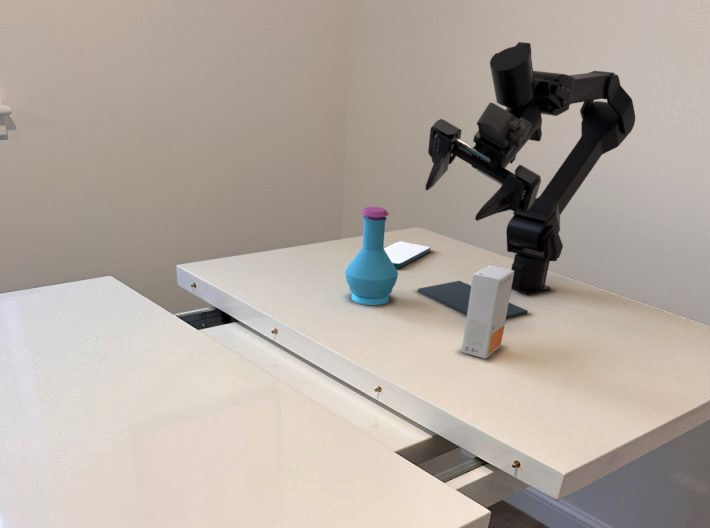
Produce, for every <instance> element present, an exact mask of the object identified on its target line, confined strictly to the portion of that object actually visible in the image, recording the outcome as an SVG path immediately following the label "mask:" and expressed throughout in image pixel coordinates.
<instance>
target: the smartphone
mask: <svg viewBox="0 0 710 528" xmlns="http://www.w3.org/2000/svg"><path fill="white" fill-rule="evenodd" d="M383 248H384V250H385V252H386V253H387V255H388V257H389V258H390V260H391V262H392V263H393V265H394V266H395V268H402V267H404V266H405V265H408V264H409V263H411V262H413V261H414V260H417V259H419V258H421V257H422V256H424V255H426V254H428V253H430V252H431V246H429V245H422V244H418V243H412V242H407V241H401V240H399V241H396V242H393V243H391V244H390V245H387V246H384V247H383Z"/></svg>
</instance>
